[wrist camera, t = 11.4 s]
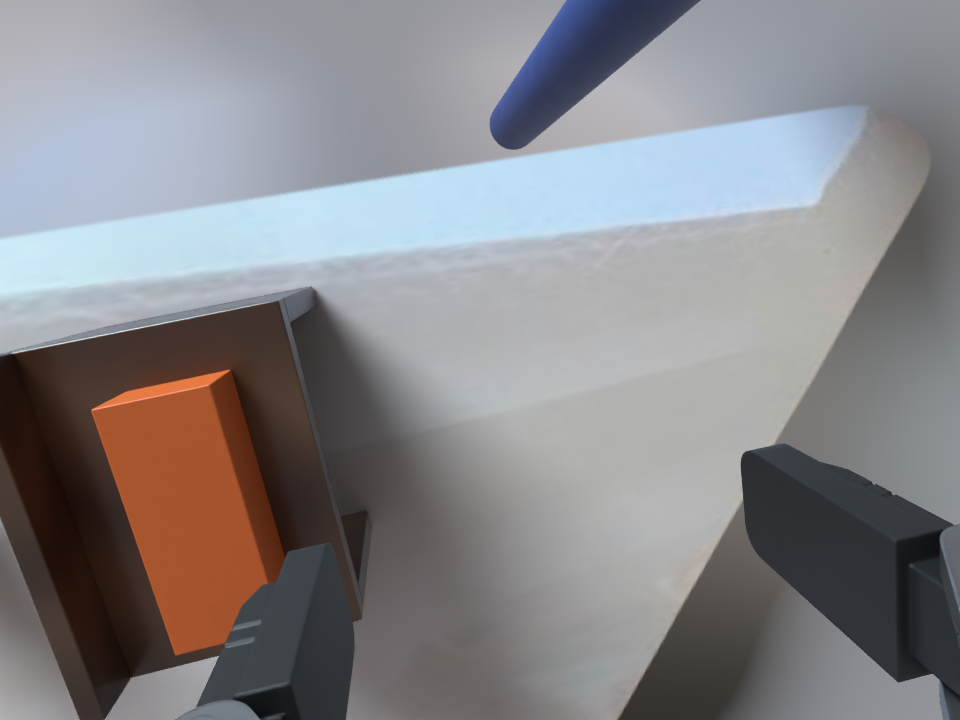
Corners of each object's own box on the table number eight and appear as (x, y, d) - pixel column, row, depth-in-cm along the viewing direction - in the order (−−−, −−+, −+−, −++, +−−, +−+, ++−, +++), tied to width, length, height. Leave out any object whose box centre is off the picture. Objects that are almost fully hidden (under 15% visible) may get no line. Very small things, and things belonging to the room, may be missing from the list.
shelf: (105, 326, 34) (-59, 369, 22) (312, 286, 35) (265, 304, 23) (185, 571, 37) (81, 726, 25) (372, 526, 38) (358, 654, 26)
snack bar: (125, 391, 25) (89, 409, 22) (231, 369, 26) (209, 384, 23) (199, 613, 28) (175, 656, 25) (294, 589, 28) (282, 629, 25)
